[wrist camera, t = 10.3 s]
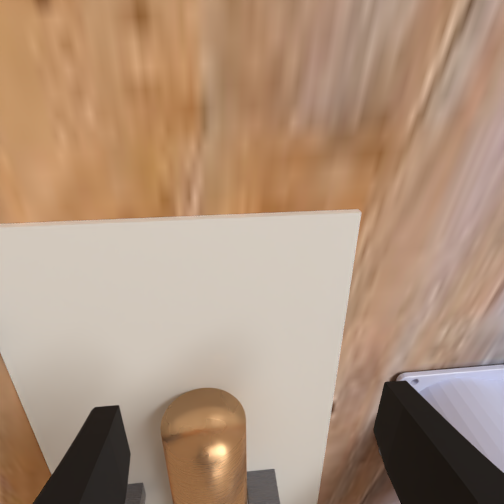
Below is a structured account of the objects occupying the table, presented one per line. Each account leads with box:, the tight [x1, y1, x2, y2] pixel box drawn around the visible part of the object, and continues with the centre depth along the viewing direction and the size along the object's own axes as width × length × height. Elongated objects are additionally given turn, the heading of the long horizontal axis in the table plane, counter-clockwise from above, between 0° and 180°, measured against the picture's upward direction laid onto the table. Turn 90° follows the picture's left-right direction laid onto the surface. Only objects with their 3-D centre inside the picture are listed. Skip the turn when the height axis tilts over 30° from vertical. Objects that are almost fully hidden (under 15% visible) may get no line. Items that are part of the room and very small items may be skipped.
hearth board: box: [0, 209, 361, 504], centre depth 24 cm, size 18×28×1 cm, turn 0°
